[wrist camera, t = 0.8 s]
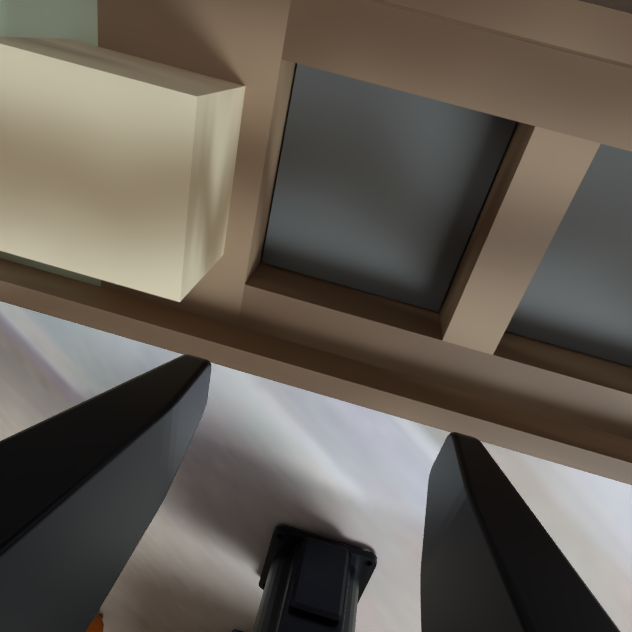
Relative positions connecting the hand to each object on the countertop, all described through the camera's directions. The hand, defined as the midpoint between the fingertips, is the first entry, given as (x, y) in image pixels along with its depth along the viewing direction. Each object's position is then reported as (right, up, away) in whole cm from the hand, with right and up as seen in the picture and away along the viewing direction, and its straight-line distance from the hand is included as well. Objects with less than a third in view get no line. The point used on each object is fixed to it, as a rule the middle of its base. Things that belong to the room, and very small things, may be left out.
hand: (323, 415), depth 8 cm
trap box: (+1, +7, +11) cm, 13 cm away
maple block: (-6, +7, +9) cm, 13 cm away
